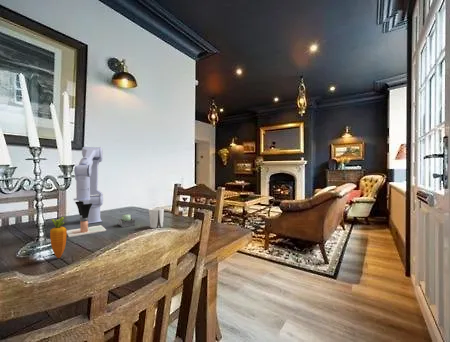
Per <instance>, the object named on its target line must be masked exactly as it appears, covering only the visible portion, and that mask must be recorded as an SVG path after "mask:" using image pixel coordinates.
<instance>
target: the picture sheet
mask: <svg viewBox="0 0 450 342" xmlns="http://www.w3.org/2000/svg"><path fill="white" fill-rule="evenodd" d="M66 230H67V237H68V238H72V237H78V236H83V235H90V234H95V233H101V232H106V231H107V229H106V228H105V227H104V226H103V225H101V224H100V225H92V226H88V232H83V233H82V232H80V228H74V229H66Z"/></svg>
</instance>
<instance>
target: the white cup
mask: <svg viewBox="0 0 450 342" xmlns="http://www.w3.org/2000/svg"><path fill="white" fill-rule="evenodd" d="M158 211H159V216H160V223H161V224H160V225H161V227H162V228H163V227H164V215H165V214H164V212H165V209H164V207H150V208H148V216H149V218H148V219H149V228H150V229H156V228H157V223H158ZM158 228H159V226H158Z"/></svg>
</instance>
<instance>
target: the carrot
mask: <svg viewBox="0 0 450 342" xmlns="http://www.w3.org/2000/svg"><path fill="white" fill-rule="evenodd" d="M64 219H65V218H64V217H63V216H62V217H60V218H59V219H54V218H52V219H51V221H52V223H53V225H54V226H55V227H53V228H50V230H49V238H50V239H49V240H50V245H51V249H52V251H53V252H52V253H54V255H55V257H56V258H57V259H60V258H61V257H62V255H63V254H64V251H65V249H66V246H67V245H66V244H67V237H68V235H67V230H68V229H67V228H66V227H64V224H65V222H64Z"/></svg>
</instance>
